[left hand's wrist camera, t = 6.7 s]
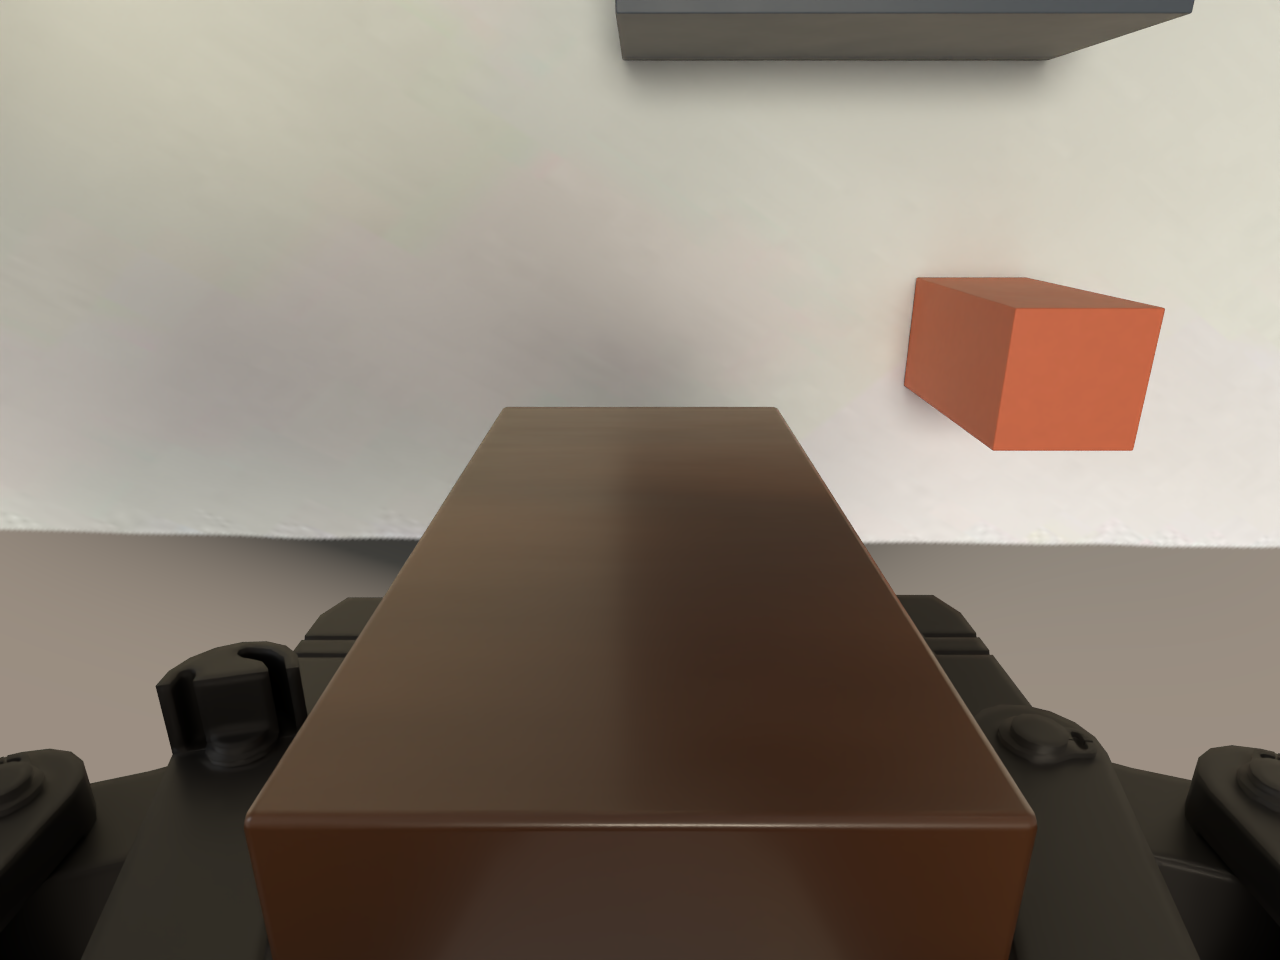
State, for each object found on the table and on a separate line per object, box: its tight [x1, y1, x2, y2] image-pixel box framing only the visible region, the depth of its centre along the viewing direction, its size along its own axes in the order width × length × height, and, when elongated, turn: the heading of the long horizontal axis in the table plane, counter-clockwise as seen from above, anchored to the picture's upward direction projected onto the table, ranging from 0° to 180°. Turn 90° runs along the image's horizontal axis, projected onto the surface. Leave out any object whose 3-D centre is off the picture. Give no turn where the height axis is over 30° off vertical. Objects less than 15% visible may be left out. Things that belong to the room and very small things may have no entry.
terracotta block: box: [904, 278, 1165, 451], centre depth 32 cm, size 5×5×10 cm
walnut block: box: [244, 407, 1037, 960], centre depth 10 cm, size 5×5×10 cm
